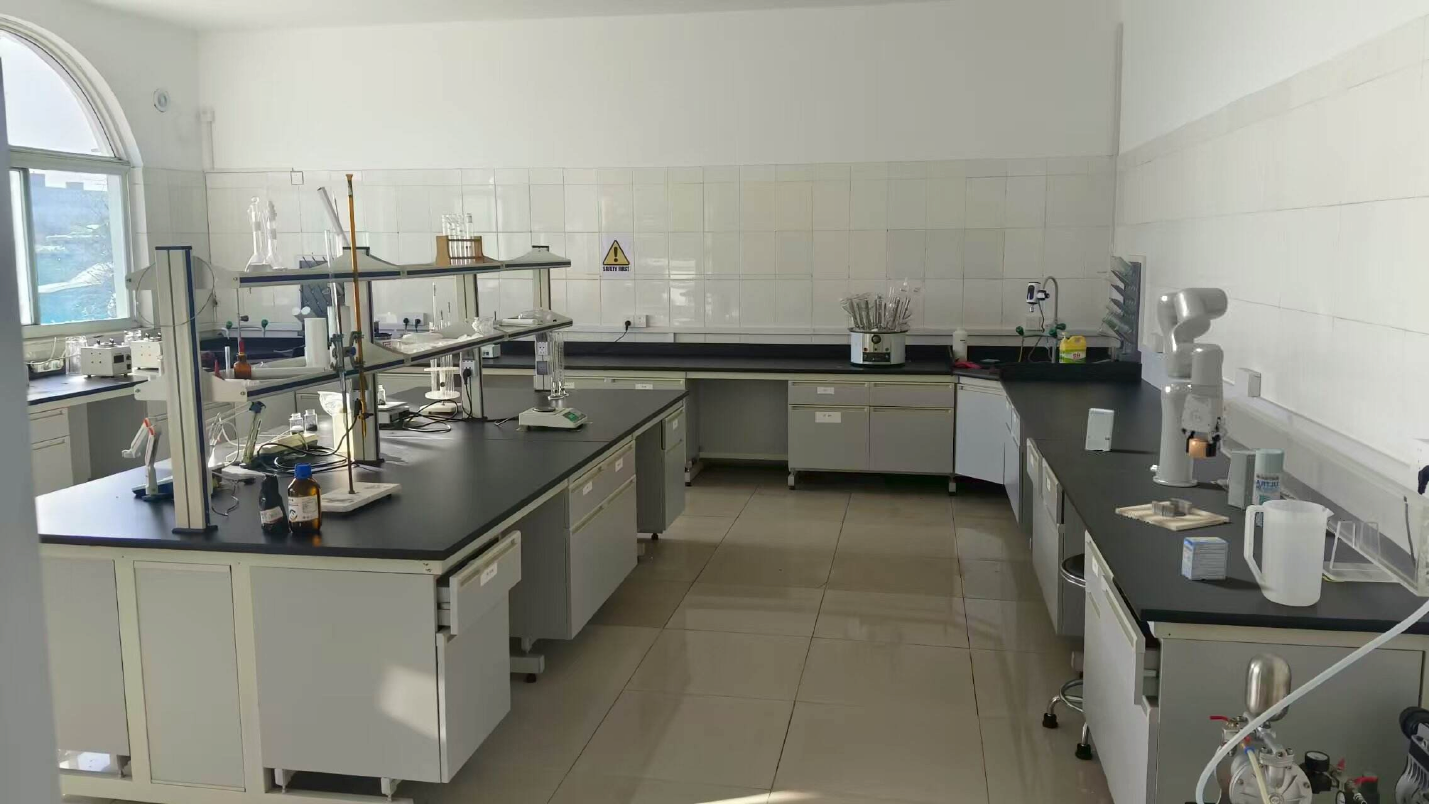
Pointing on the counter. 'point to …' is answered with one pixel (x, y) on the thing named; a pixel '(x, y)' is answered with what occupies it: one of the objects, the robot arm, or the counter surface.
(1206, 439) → the tan round jar
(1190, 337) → the robot arm
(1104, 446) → the skincare box
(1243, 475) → the skincare box
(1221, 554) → the medicine box
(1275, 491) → the spray paint can
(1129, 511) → the barrel mount
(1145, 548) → the counter surface
